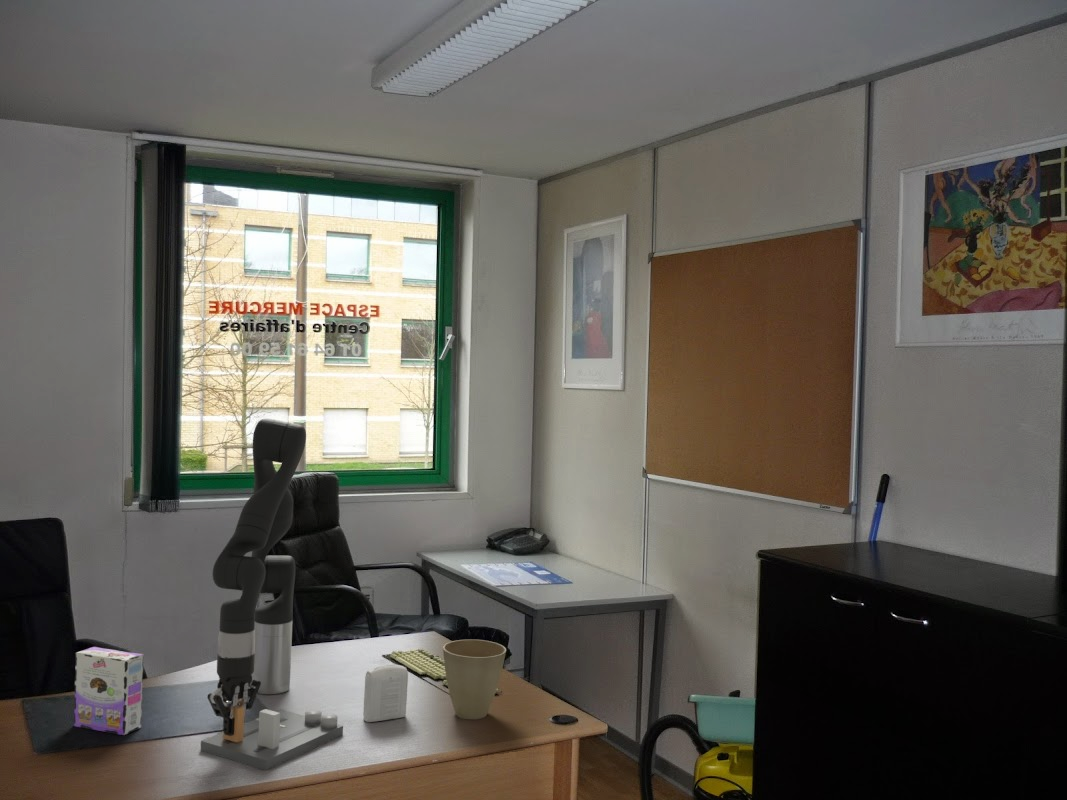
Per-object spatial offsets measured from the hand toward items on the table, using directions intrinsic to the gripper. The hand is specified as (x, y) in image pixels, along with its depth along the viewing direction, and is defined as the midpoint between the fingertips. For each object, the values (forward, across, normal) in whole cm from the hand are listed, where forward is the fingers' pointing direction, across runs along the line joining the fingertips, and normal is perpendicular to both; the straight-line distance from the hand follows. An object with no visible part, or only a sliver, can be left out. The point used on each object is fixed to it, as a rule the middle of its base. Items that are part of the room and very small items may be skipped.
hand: (233, 732), depth 214 cm
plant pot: (+4, -48, +29) cm, 56 cm away
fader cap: (+1, 0, 0) cm, 1 cm away
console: (+4, -8, +4) cm, 10 cm away
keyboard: (+5, -70, +6) cm, 71 cm away
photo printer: (+4, -34, +14) cm, 37 cm away
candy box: (+4, +6, -31) cm, 32 cm away
